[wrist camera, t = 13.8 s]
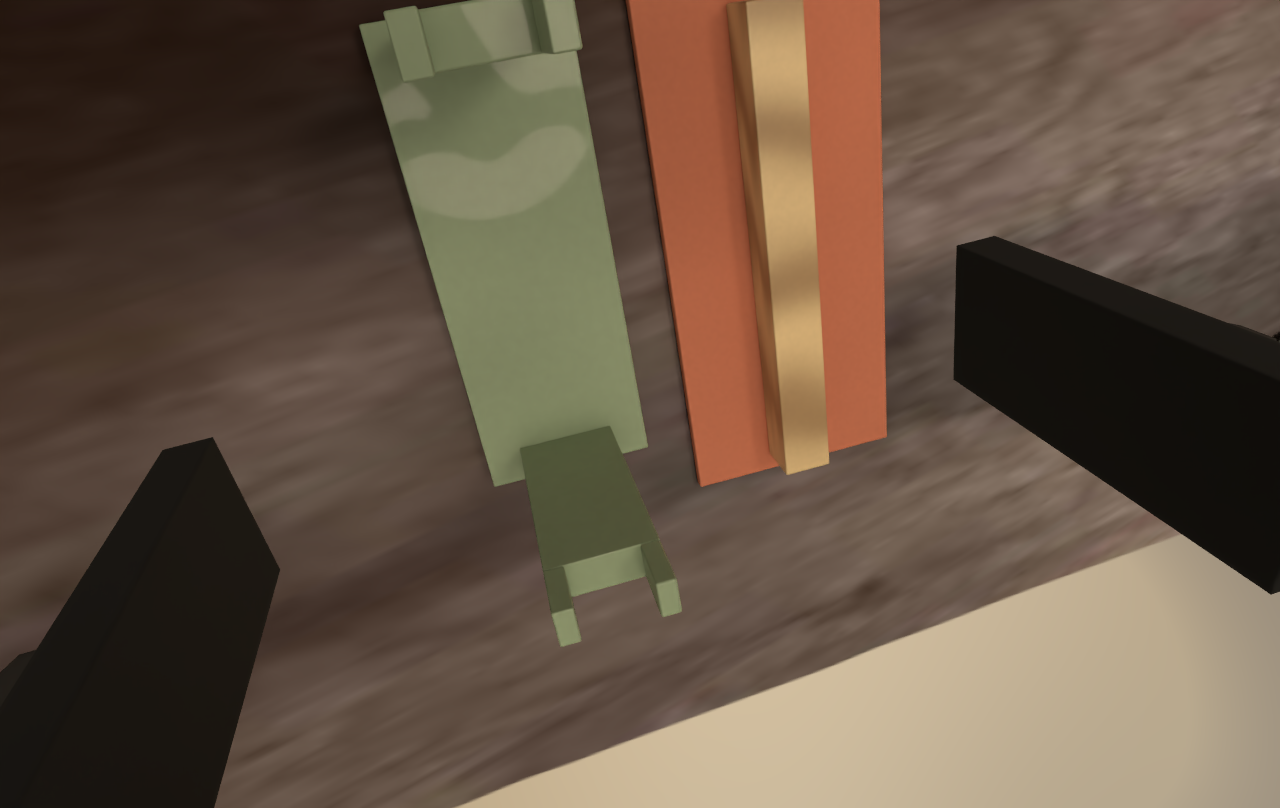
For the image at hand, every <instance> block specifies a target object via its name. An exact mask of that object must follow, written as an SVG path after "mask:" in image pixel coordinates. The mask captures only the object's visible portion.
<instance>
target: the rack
mask: <svg viewBox="0 0 1280 808" xmlns="http://www.w3.org/2000/svg"><path fill="white" fill-rule="evenodd" d="M383 14H384V18H385V20H383V21H378V22H372V23H366V24H360V25H359V28H360V31H361V35H362V38H363V41H364V45H365V48H366V52H367V55H368V58H369V62H370V65H371V69H372V72H373V75H374V79H375V82H376V86H377V89H378V92H379V96H380V99H381V103H382V106H383V109H384V113H385V116H386V120H387V123H388V126H389V130H390V133H391V137H392V140H393V143H394V147H395V150H396V154H397V157H398V160H399V164H400V167H401V171H402V174H403V177H404V181H405V184H406V188H407V191H408V194H409V198H410V201H411V205H412V208H413V211H414V215H415V218H416V222H417V225H418V228H419V232H420V235H421V239H422V242H423V245H424V249H425V252H426V256H427V259H428V262H429V266H430V269H431V273H432V276H433V279H434V283H435V286H436V290H437V293H438V296H439V300H440V303H441V307H442V310H443V313H444V317H445V320H446V324H447V327H448V330H449V334H450V337H451V341H452V344H453V347H454V351H455V354H456V358H457V361H458V364H459V368H460V371H461V375H462V378H463V381H464V385H465V388H466V392H467V395H468V398H469V402H470V405H471V409H472V412H473V415H474V419H475V422H476V426H477V429H478V432H479V436H480V439H481V443H482V446H483V449H484V453H485V456H486V460H487V463H488V466H489V470H490V473H491V477H492V480H493V483H494V486H495V487H496V486H500V485H504V484H508V483H511V482H515V481H519V480H523V479H526V484H527V489H528V494H529V499H530V505H531V510H532V515H533V521H534V526H535V531H536V537H537V542H538V547H539V552H540V558H541V563H542V568H543V573H544V579H545V584H546V589H547V595H548V600H549V605H550V611H551V615H552V619H553V623H554V626H555V630H556V633H557V637H558V640H559V644H560V646H561V647H563V646H566V645H570V644H573V643H577V642H580V641H581V635H580V630H579V626H578V622H577V617H576V613H575V609H574V604H573V600H572V597H574V596H578V595H581V594H585V593H588V592H592V591H595V590H599V589H602V588H606V587H609V586H613V585H617V584H620V583H624V582H627V581H631V580H634V579H638V578H641V577H645V576H646V577H647V579H648V582H649V585H650V587H651V590H652V592H653V595H654V598H655V600H656V603H657V606H658V608H659V611H660V614H661V616H662V617H666V616H669V615H672V614H676V613H679V612H681V611H682V606H681V601H680V595H679V589H678V584H677V579H676V576H675V574H674V572H673V569H672V567H671V565H670V563H669V560H668V558H667V556H666V553H665V551H664V549H663V546H662V544H661V542H660V539H659V537H658V534H657V532H656V530H655V528H654V525H653V523H652V521H651V518H650V516H649V514H648V511H647V509H646V507H645V505H644V502H643V500H642V498H641V495H640V493H639V491H638V489H637V486H636V484H635V482H634V479H633V477H632V475H631V472H630V470H629V468H628V466H627V463H626V461H625V459H624V456H623V453H627V452H631V451H635V450H639V449H642V448H646V447H648V444H647V438H646V432H645V427H644V421H643V416H642V410H641V405H640V399H639V394H638V388H637V383H636V377H635V372H634V366H633V360H632V355H631V349H630V344H629V338H628V333H627V327H626V322H625V316H624V311H623V305H622V300H621V294H620V288H619V283H618V277H617V272H616V266H615V261H614V255H613V250H612V244H611V239H610V233H609V228H608V222H607V217H606V211H605V205H604V200H603V194H602V189H601V183H600V178H599V172H598V167H597V161H596V156H595V150H594V145H593V139H592V133H591V128H590V122H589V117H588V111H587V106H586V100H585V95H584V89H583V84H582V78H581V73H580V67H579V61H578V56H577V50H580V49H582V41H581V35H580V29H579V24H578V18H577V12H576V7H575V1H574V0H470V1H464V2H458V3H453V4H447V5H441V6H435V7H430V8H424V9H417V7H416V6H410V7H404V8H399V9H393V10H387V11H384V13H383Z"/></svg>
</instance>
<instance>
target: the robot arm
mask: <svg viewBox="0 0 1280 808" xmlns="http://www.w3.org/2000/svg"><path fill="white" fill-rule="evenodd" d="M954 380H955V381H957V382H958V383H960V384H961V385H963V386H964V387H965V388H967V389H968V390H970V391H971V392H973V393H974V394H976V395H977V396H979V397H980V398H982V399H983V400H985V401H986V402H988V403H989V404H991V405H992V406H994V407H995V408H996V409H998V410H999V411H1001V412H1002V413H1004V414H1005V415H1007V416H1008V417H1010V418H1011V419H1013V420H1014V421H1016V422H1017V423H1019V424H1020V425H1022V426H1023V427H1024V428H1026V429H1027V430H1029V431H1030V432H1032V433H1033V434H1035V435H1036V436H1038V437H1039V438H1041V439H1042V440H1044V441H1045V442H1047V443H1048V444H1050V445H1051V446H1053V447H1054V448H1055V449H1057V450H1058V451H1060V452H1061V453H1063V454H1064V455H1066V456H1067V457H1069V458H1070V459H1072V460H1073V461H1075V462H1076V463H1078V464H1079V465H1081V466H1082V467H1084V468H1085V469H1086V470H1088V471H1089V472H1091V473H1092V474H1094V475H1095V476H1097V477H1098V478H1100V479H1101V480H1103V481H1104V482H1106V483H1107V484H1109V485H1110V486H1112V487H1113V488H1115V489H1116V490H1117V491H1119V492H1120V493H1122V494H1123V495H1125V496H1126V497H1128V498H1129V499H1131V500H1132V501H1134V502H1135V503H1137V504H1138V505H1140V506H1141V507H1143V508H1144V509H1146V510H1147V511H1148V512H1150V513H1151V514H1153V515H1154V516H1156V517H1157V518H1159V519H1160V520H1162V521H1163V522H1165V523H1166V524H1168V525H1169V526H1171V527H1172V528H1174V529H1175V530H1177V531H1178V532H1179V533H1181V534H1182V535H1184V536H1186V537H1187V538H1188V539H1190V540H1191V541H1193V542H1194V543H1196V544H1197V545H1199V546H1200V547H1202V548H1203V549H1205V550H1206V551H1208V552H1209V553H1210V554H1212V555H1213V556H1215V557H1216V558H1218V559H1219V560H1221V561H1222V562H1224V563H1225V564H1227V565H1228V566H1230V567H1231V568H1233V569H1234V570H1236V571H1237V572H1238V573H1240V574H1242V575H1243V576H1244V577H1246V578H1248V579H1249V580H1250V581H1252V582H1253V583H1255V584H1256V585H1258V586H1260V587H1261V588H1262V589H1264V590H1265V591H1267V592H1268V593H1269V594H1274V593H1277V592H1280V342H1277V339H1276V338H1273V337H1270V336H1267V335H1265V334H1262V333H1259V332H1257V331H1254V330H1251V329H1249V328H1246V327H1243V326H1240V325H1235V324H1230V323H1226V322H1223V321H1221V320H1218V319H1215V318H1213V317H1210V316H1207V315H1205V314H1202V313H1199V312H1197V311H1194V310H1191V309H1189V308H1186V307H1183V306H1181V305H1178V304H1175V303H1173V302H1170V301H1167V300H1165V299H1162V298H1159V297H1157V296H1154V295H1151V294H1148V293H1146V292H1143V291H1140V290H1138V289H1135V288H1132V287H1130V286H1127V285H1124V284H1122V283H1119V282H1116V281H1114V280H1111V279H1108V278H1106V277H1103V276H1100V275H1098V274H1095V273H1092V272H1090V271H1087V270H1084V269H1082V268H1079V267H1076V266H1074V265H1071V264H1068V263H1066V262H1063V261H1060V260H1057V259H1055V258H1052V257H1049V256H1047V255H1044V254H1041V253H1039V252H1036V251H1033V250H1031V249H1028V248H1025V247H1023V246H1020V245H1017V244H1015V243H1012V242H1009V241H1007V240H1004V239H1001V238H999V237H996V236H993V237H989V238H985V239H981V240H977V241H973V242H969V243H965V244H961V245H958V246H957V255H956V297H955V339H954ZM279 572H280V568H279V566H278V565H277V563H276V561H275V559H274V557H273V555H272V553H271V551H270V549H269V547H268V545H267V543H266V541H265V539H264V537H263V535H262V533H261V531H260V529H259V527H258V525H257V523H256V521H255V519H254V517H253V515H252V513H251V511H250V510H249V508H248V506H247V504H246V502H245V500H244V498H243V496H242V494H241V492H240V490H239V488H238V486H237V484H236V482H235V480H234V478H233V476H232V474H231V472H230V470H229V468H228V466H227V464H226V462H225V460H224V458H223V456H222V455H221V453H220V451H219V449H218V447H217V445H216V443H215V441H214V439H213V437H212V438H208V439H204V440H200V441H196V442H192V443H188V444H184V445H181V446H177V447H173V448H169V449H165V450H163V451H162V452H161V454H160V455H159V457H158V458H157V460H156V462H155V463H154V465H153V466H152V468H151V469H150V471H149V473H148V474H147V476H146V477H145V479H144V481H143V482H142V484H141V485H140V487H139V488H138V490H137V492H136V493H135V495H134V496H133V498H132V500H131V501H130V503H129V504H128V506H127V507H126V509H125V511H124V512H123V514H122V515H121V517H120V519H119V520H118V522H117V523H116V525H115V526H114V528H113V530H112V531H111V533H110V534H109V536H108V537H107V539H106V541H105V542H104V544H103V545H102V547H101V549H100V550H99V552H98V553H97V555H96V556H95V558H94V560H93V561H92V563H91V564H90V566H89V568H88V569H87V571H86V572H85V574H84V575H83V577H82V579H81V580H80V582H79V583H78V585H77V587H76V588H75V590H74V591H73V593H72V594H71V596H70V598H69V599H68V601H67V602H66V604H65V605H64V607H63V609H62V610H61V612H60V613H59V615H58V617H57V618H56V620H55V621H54V623H53V624H52V626H51V628H50V629H49V631H48V632H47V634H46V636H45V637H44V639H43V640H42V642H41V643H40V645H39V647H38V648H37V650H34V651H31V652H27V653H24V654H20V655H18V656H17V657H16V658H15V659H14V660H13V661H12V662H11V663H10V664H9V665H8V666H7V667H6V668H5V669H3V670H2V671H1V672H0V808H214V806H215V802H216V799H217V795H218V791H219V788H220V784H221V781H222V777H223V773H224V770H225V766H226V763H227V759H228V755H229V752H230V748H231V745H232V741H233V737H234V734H235V730H236V727H237V723H238V719H239V716H240V712H241V709H242V705H243V701H244V698H245V694H246V691H247V687H248V683H249V680H250V676H251V673H252V669H253V665H254V662H255V658H256V655H257V651H258V647H259V644H260V640H261V637H262V633H263V629H264V626H265V622H266V619H267V615H268V611H269V608H270V604H271V601H272V597H273V593H274V590H275V586H276V583H277V579H278V575H279Z"/></svg>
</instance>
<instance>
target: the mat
mask: <svg viewBox="0 0 1280 808" xmlns="http://www.w3.org/2000/svg"><path fill="white" fill-rule="evenodd" d="M739 1H744V0H626V6H627V13H628V19H629V26H630V33H631V39H632V46H633V53H634V59H635V66H636V73H637V79H638V86H639V93H640V99H641V106H642V113H643V119H644V126H645V133H646V139H647V146H648V153H649V159H650V166H651V173H652V179H653V186H654V193H655V199H656V206H657V213H658V219H659V226H660V233H661V239H662V246H663V253H664V259H665V266H666V273H667V279H668V286H669V293H670V299H671V306H672V313H673V319H674V326H675V333H676V339H677V346H678V353H679V359H680V366H681V373H682V379H683V386H684V393H685V399H686V406H687V413H688V419H689V426H690V433H691V439H692V446H693V453H694V459H695V466H696V473H697V479H698V483H699V484H700V486H701V487H702V486H706V485H710V484H713V483H717V482H721V481H725V480H728V479H732V478H736V477H739V476H743V475H747V474H751V473H754V472H758V471H762V470H765V469H769V468H773V467H777V466H779V464H778V463H777V462H776V461H775V459H774V458H773V457H772V455H771V454H770V449H769V439H768V429H767V418H766V408H765V398H764V388H763V377H762V367H761V357H760V346H759V336H758V326H757V315H756V305H755V295H754V285H753V274H752V264H751V254H750V243H749V233H748V223H747V212H746V202H745V192H744V182H743V171H742V161H741V151H740V140H739V130H738V120H737V109H736V99H735V89H734V79H733V68H732V58H731V48H730V37H729V27H728V17H727V4H728V3H733V2H739ZM803 7H804V24H805V42H806V60H807V77H808V95H809V113H810V131H811V148H812V166H813V184H814V201H815V219H816V237H817V255H818V272H819V290H820V308H821V325H822V343H823V361H824V378H825V396H826V414H827V432H828V449H829V452H832V451H836V450H840V449H843V448H847V447H851V446H855V445H858V444H862V443H866V442H869V441H873V440H877V439H881V438H884V437H886V436H887V428H886V368H885V308H884V247H883V187H882V126H881V66H880V5H879V0H803Z"/></svg>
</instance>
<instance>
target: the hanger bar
mask: <svg viewBox="0 0 1280 808" xmlns="http://www.w3.org/2000/svg"><path fill="white" fill-rule="evenodd" d="M727 17H728V27H729V37H730V48H731V58H732V68H733V79H734V89H735V99H736V109H737V120H738V130H739V140H740V151H741V161H742V171H743V182H744V192H745V202H746V212H747V223H748V233H749V243H750V254H751V264H752V274H753V285H754V295H755V305H756V315H757V326H758V336H759V346H760V357H761V367H762V377H763V388H764V398H765V408H766V418H767V429H768V439H769V449H770V454H771V455H772V457H773V458H774V459H775V461H776V462H777V463H778V464H779V466H780V467H781V468H782V469H783V471H784V472H785V473H786V474H787V475H789V474H793V473H796V472H800V471H804V470H807V469H811V468H815V467H818V466H822V465H826V464H829V449H828V432H827V414H826V396H825V378H824V361H823V343H822V325H821V308H820V290H819V272H818V255H817V237H816V219H815V201H814V184H813V166H812V148H811V131H810V113H809V95H808V77H807V60H806V42H805V24H804V7H803V0H744V1H739V2H733V3H728V4H727Z"/></svg>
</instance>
